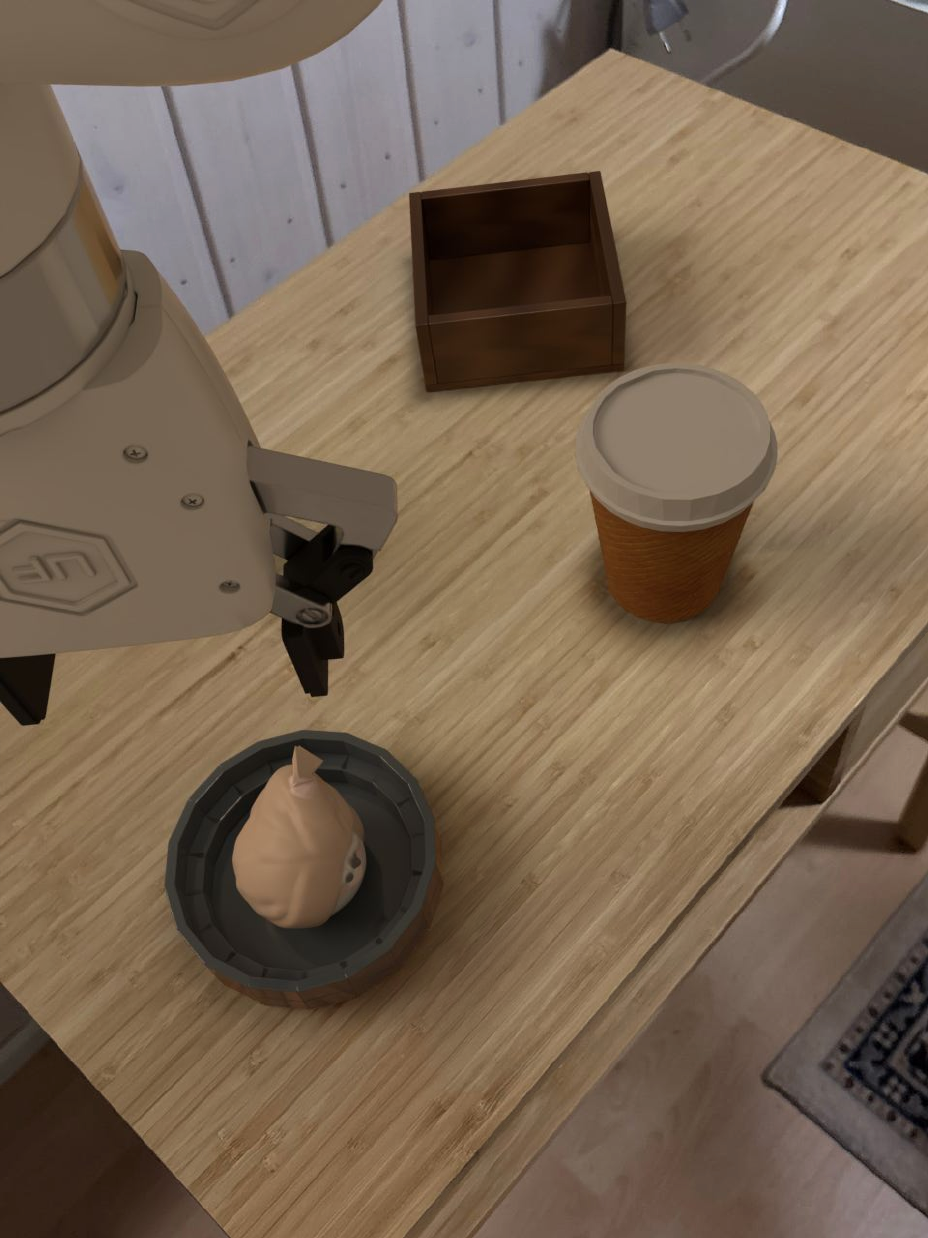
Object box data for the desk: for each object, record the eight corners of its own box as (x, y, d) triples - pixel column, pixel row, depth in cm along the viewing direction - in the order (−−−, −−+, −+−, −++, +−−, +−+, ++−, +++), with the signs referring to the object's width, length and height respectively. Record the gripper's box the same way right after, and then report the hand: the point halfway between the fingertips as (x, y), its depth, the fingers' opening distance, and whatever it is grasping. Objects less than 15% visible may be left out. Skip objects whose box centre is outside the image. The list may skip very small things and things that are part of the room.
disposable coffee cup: (678, 680, 60) (695, 543, 50) (542, 584, 64) (533, 439, 54) (786, 567, 63) (823, 416, 53) (650, 482, 67) (660, 327, 57)
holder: (600, 240, 79) (600, 169, 75) (624, 370, 72) (626, 302, 68) (419, 260, 80) (408, 192, 75) (426, 392, 73) (415, 325, 68)
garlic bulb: (407, 874, 55) (381, 806, 48) (306, 971, 53) (265, 914, 46) (318, 787, 58) (283, 712, 51) (220, 876, 56) (169, 809, 49)
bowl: (437, 749, 59) (429, 717, 56) (450, 1001, 52) (441, 980, 49) (197, 771, 60) (177, 741, 57) (177, 1024, 53) (153, 1004, 50)
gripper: (-508, 450, 23) (-89, 798, 37) (336, 355, 22) (435, 748, 37) (-381, 213, 27) (-47, 608, 42) (337, 126, 27) (425, 559, 41)
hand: (179, 673), depth 39 cm, fingers open, 9 cm apart
